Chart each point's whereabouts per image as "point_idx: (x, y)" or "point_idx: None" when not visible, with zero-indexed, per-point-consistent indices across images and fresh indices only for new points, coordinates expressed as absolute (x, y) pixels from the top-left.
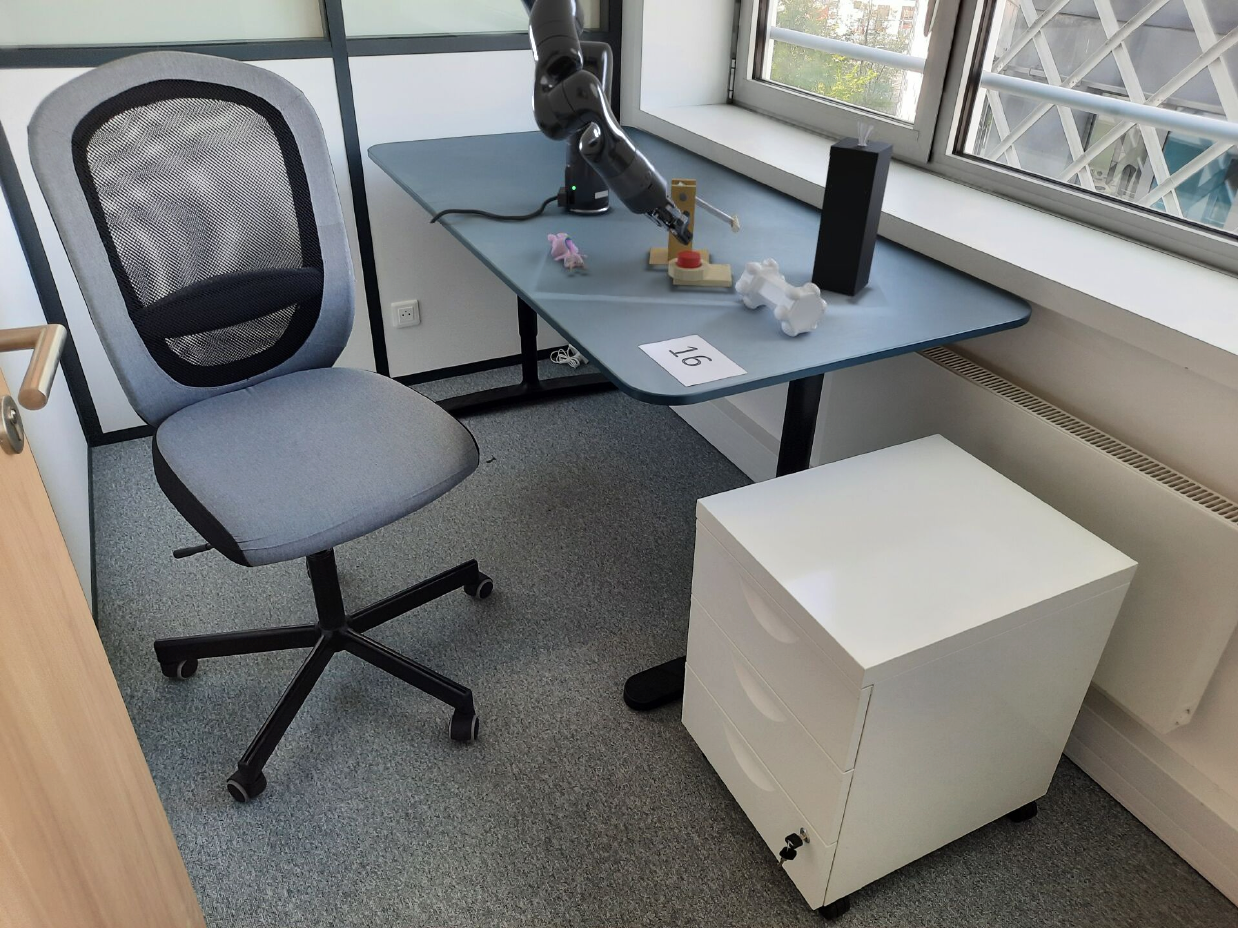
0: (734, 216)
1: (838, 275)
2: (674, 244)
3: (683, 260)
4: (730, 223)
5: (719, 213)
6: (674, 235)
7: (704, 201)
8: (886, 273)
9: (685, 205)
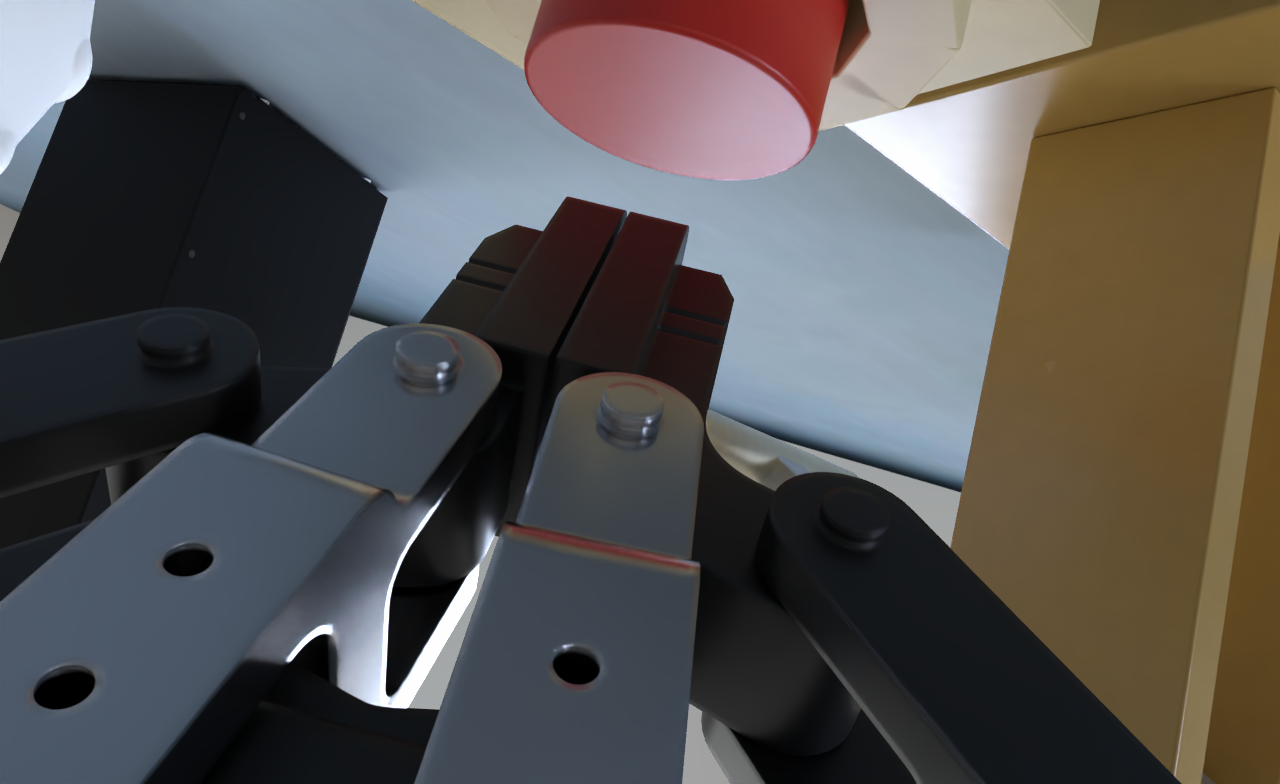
0: None
1: (93, 194)
2: (1176, 266)
3: None
4: (777, 469)
5: None
6: (591, 322)
7: None
8: (375, 271)
9: None
